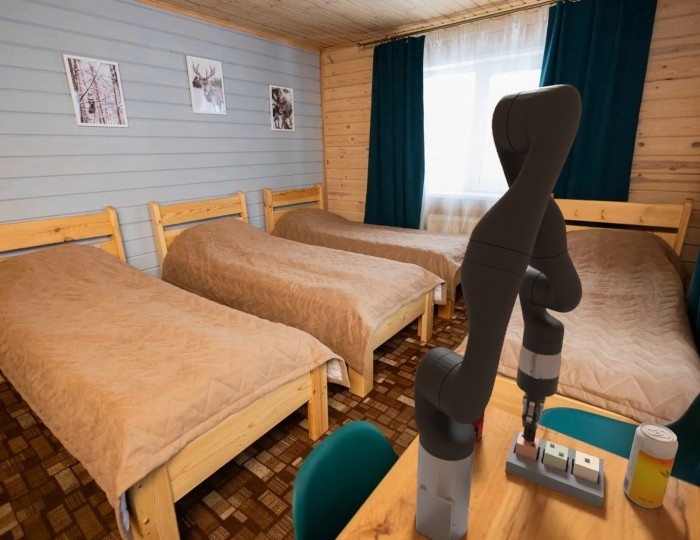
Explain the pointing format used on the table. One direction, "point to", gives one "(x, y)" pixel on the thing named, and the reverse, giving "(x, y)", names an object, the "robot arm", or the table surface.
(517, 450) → the tile three terracotta
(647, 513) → the table surface
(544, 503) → the table surface
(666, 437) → the beer can
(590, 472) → the tile one cream
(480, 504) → the table surface
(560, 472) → the slate board
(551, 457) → the tile two sage
